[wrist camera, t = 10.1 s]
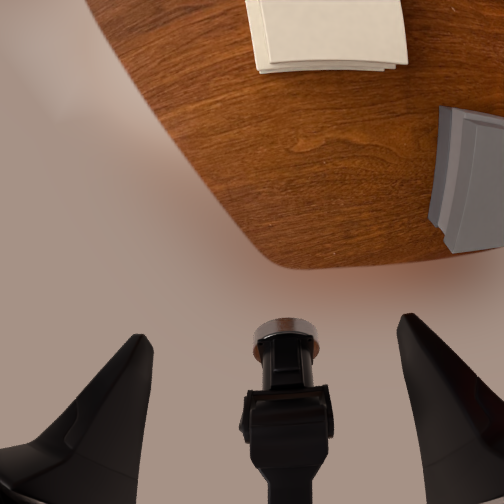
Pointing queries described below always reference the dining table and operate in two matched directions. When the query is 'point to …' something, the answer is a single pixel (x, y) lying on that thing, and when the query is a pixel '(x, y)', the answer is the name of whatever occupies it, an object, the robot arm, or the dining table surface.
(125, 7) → the dining table surface
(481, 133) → the grey pile
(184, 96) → the dining table surface
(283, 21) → the white block
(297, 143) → the dining table surface
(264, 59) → the white pile
